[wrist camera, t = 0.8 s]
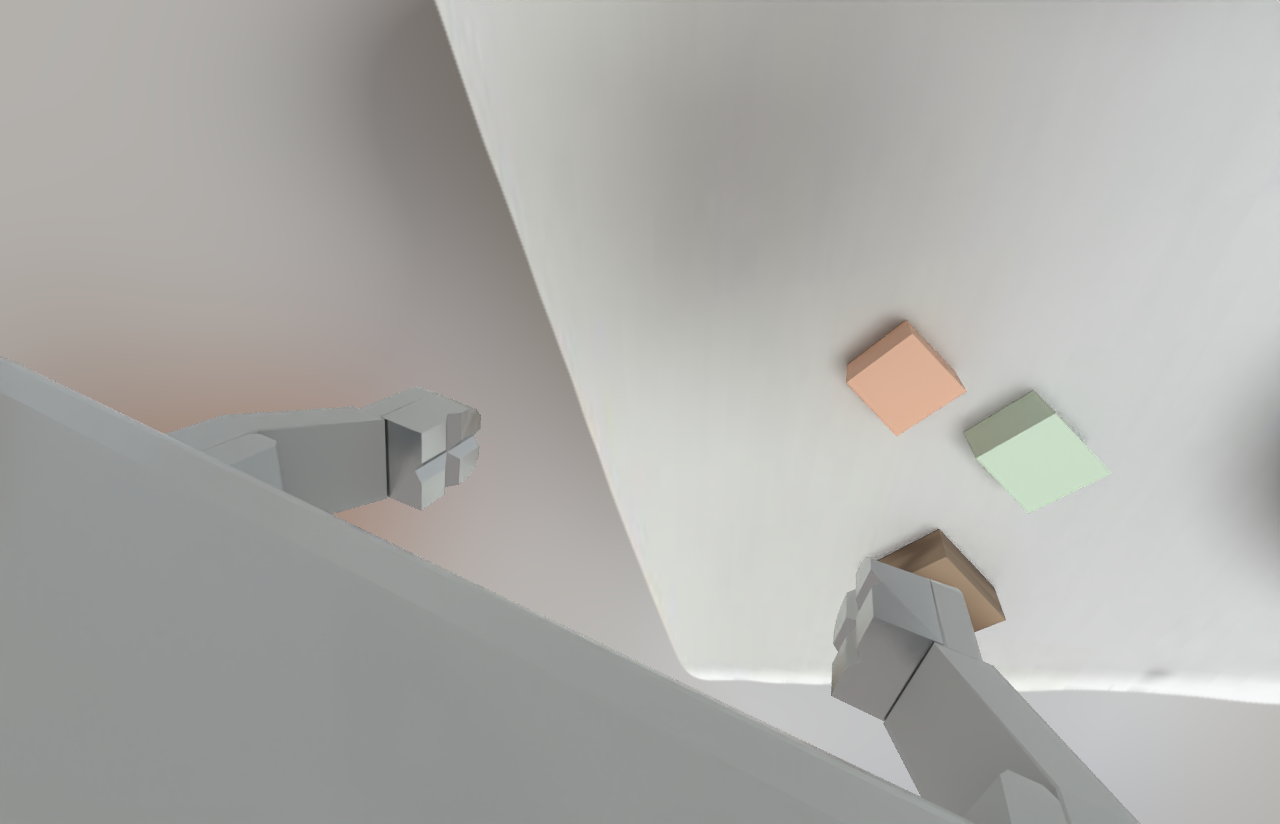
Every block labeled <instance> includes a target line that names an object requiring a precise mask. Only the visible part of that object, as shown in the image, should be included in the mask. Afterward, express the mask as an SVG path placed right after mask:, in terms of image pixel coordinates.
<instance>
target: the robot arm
mask: <svg viewBox="0 0 1280 824" xmlns="http://www.w3.org/2000/svg"><path fill="white" fill-rule="evenodd" d="M480 420H481V415H480V414H479V412H478V411H477V409H475V408H472V407H470V406H468V405H465V404H463V403H460V402H458V401H455V400H453V399H450V398H448V397H445V396H442V395H439V394H438V393H436V392H432V391H430V390H427V389H424V388H420V387H413V388H410V389H408V390H405V391H403V392H400V393H398V394H395V395H393V396H391V397H388V398H385V399H383V400H380V401H378V402H375V403H373V404H370V405H368V406H365V407H363V408H361V409H358V408H355V407H342V408H326V409H312V410H311V409H310V410H296V411H279V412H263V413H248V414H231V415H222V416H218V417H215V418H212V419H209V420H206V421H203V422H200V423H197V424H194V425H191V426H188V427H185V428H182V429H179V430H176V431H173V432H170V433H167V434H164V433H162V432H159V431H157V430H155V429H153V428H151V427H149V426H147V425H145V424H143V423H141V422H139V421H137V420H135V419H132V418H130V417H128V416H126V415H124V414H122V413H120V412H118V411H116V410H114V409H112V408H110V407H107V406H105V405H103V404H101V403H99V402H97V401H95V400H93V399H91V398H89V397H87V396H85V395H83V394H81V393H78V392H76V391H74V390H72V389H70V388H68V387H66V386H64V385H62V384H60V383H58V382H56V381H53V380H51V379H49V378H47V377H45V376H43V375H41V374H39V373H37V372H35V371H33V370H31V369H29V368H28V367H26V366H24V365H21V364H20V363H18V362H15V361H12V360H10V359H7V358H4V357H0V824H1140V823H1139V822H1138V821H1137V820H1136V818H1134V816H1133V815H1132V814H1131V813H1130V812H1129V811H1128V810H1127V809H1126V808H1125V807H1124V806H1123V805H1122V803H1121V802H1120V801H1119V800H1118V799H1117V798H1116V797H1115V796H1114V795H1113V794H1112V793H1111V792H1110V791H1109V790H1108V788H1107V787H1106V786H1105V785H1104V784H1103V783H1102V782H1101V781H1100V780H1099V779H1098V778H1097V777H1096V776H1095V775H1094V773H1093V772H1092V771H1091V770H1090V769H1089V768H1088V767H1087V766H1086V765H1085V764H1084V763H1083V762H1082V761H1081V760H1080V758H1079V757H1078V756H1077V755H1076V754H1075V753H1074V752H1073V751H1072V750H1071V749H1070V748H1069V747H1068V746H1067V745H1066V743H1065V742H1064V741H1063V740H1062V739H1061V738H1060V737H1059V736H1058V735H1057V734H1056V733H1055V732H1054V730H1052V728H1051V727H1050V726H1049V725H1048V724H1047V723H1046V722H1045V721H1044V720H1043V719H1042V718H1041V717H1040V716H1039V714H1038V713H1037V712H1036V711H1035V710H1034V709H1033V708H1032V707H1031V706H1030V705H1029V704H1028V703H1027V702H1026V701H1025V699H1024V698H1023V697H1022V696H1021V695H1020V694H1019V693H1018V692H1017V691H1016V690H1015V689H1014V688H1013V687H1012V685H1011V684H1010V683H1009V682H1008V681H1007V680H1006V679H1005V678H1004V677H1003V676H1002V675H1001V674H1000V673H999V671H998V670H997V669H996V668H995V667H994V666H992V665H990V664H988V663H985V662H983V660H982V657H981V653H980V650H979V647H978V643H977V640H976V637H975V633H974V630H973V626H972V623H971V620H970V616H969V613H968V610H967V606H966V603H965V599H964V596H963V593H962V592H961V591H960V590H959V589H958V588H955V587H952V586H949V585H946V584H943V583H940V582H937V581H934V580H931V579H928V578H925V577H922V576H919V575H916V574H913V573H910V572H908V571H905V570H902V569H899V568H896V567H893V566H890V565H888V564H885V563H882V562H879V561H876V560H873V559H871V558H868V557H866V558H865V559H864V561H863V562H862V563H861V565H860V567H859V569H858V571H857V573H856V589H855V590H853V591H850V592H848V593H847V594H846V596H845V598H844V600H843V603H842V605H841V607H840V610H839V613H838V616H837V619H836V624H835V629H834V640H833V644H834V646H835V647H836V649H837V651H838V653H837V655H836V657H835V659H834V661H833V663H832V687H831V690H832V691H831V696H833V697H835V698H837V699H839V700H841V701H843V702H845V703H847V704H849V705H852V706H854V707H856V708H858V709H860V710H862V711H864V712H866V713H868V714H870V715H872V716H874V717H877V718H879V719H881V720H883V721H885V722H884V726H885V728H886V729H887V731H888V733H889V735H890V737H891V739H892V741H893V743H894V745H895V747H896V749H897V751H898V753H899V754H900V757H901V759H902V760H903V762H904V764H905V766H906V768H907V770H908V772H909V774H910V776H911V778H912V780H913V782H914V784H915V786H916V788H917V790H918V791H919V794H920V795H921V797H920V796H917V795H915V794H913V793H911V792H909V791H907V790H905V789H903V788H901V787H899V786H897V785H895V784H892V783H890V782H888V781H886V780H884V779H882V778H880V777H878V776H875V775H874V774H871V773H870V772H867V771H865V770H863V769H861V768H859V767H857V766H855V765H853V764H851V763H849V762H846V761H844V760H842V759H840V758H838V757H836V756H834V755H832V754H830V753H827V752H825V751H823V750H821V749H819V748H817V747H815V746H813V745H810V744H809V743H807V742H805V741H802V740H800V739H798V738H796V737H794V736H792V735H790V734H788V733H786V732H784V731H781V730H780V729H778V728H775V727H773V726H771V725H769V724H767V723H765V722H763V721H761V720H759V719H756V718H754V717H753V716H751V715H748V714H746V713H744V712H742V711H740V710H738V709H736V708H734V707H732V706H730V705H728V704H726V703H724V702H721V701H719V700H717V699H715V698H713V697H711V696H709V695H707V694H705V693H703V692H701V691H699V690H696V689H694V688H692V687H690V686H688V685H686V684H684V683H682V682H680V681H678V680H675V679H674V678H671V677H669V676H667V675H665V674H663V673H661V672H659V671H657V670H655V669H653V668H651V667H649V666H647V665H645V664H642V663H640V662H638V661H636V660H634V659H632V658H630V657H628V656H626V655H624V654H622V653H620V652H617V651H615V650H613V649H611V648H609V647H607V646H605V645H603V644H601V643H599V642H597V641H594V640H593V639H590V638H588V637H586V636H584V635H582V634H580V633H578V632H576V631H574V630H572V629H570V628H568V627H565V626H563V625H561V624H559V623H557V622H555V621H553V620H551V619H549V618H547V617H545V616H542V615H540V614H538V613H536V612H534V611H532V610H530V609H528V608H526V607H524V606H521V605H519V604H517V603H515V602H513V601H511V600H509V599H507V598H505V597H503V596H501V595H498V594H496V593H494V592H492V591H490V590H488V589H486V588H484V587H482V586H480V585H478V584H476V583H474V582H471V581H469V580H467V579H465V578H463V577H461V576H459V575H457V574H455V573H452V572H451V571H448V570H446V569H444V568H442V567H440V566H438V565H436V564H434V563H432V562H430V561H428V560H426V559H424V558H422V557H419V556H417V555H415V554H413V553H411V552H409V551H407V550H405V549H403V548H401V547H399V546H396V545H395V544H392V543H390V542H388V541H386V540H384V539H382V538H380V537H378V536H376V535H374V534H372V533H370V532H367V531H365V530H363V529H361V528H359V527H357V526H355V525H353V524H351V523H349V522H347V521H344V520H342V519H340V518H338V517H336V516H334V515H332V514H334V513H338V512H341V511H344V510H348V509H352V508H355V507H359V506H362V505H366V504H369V503H373V502H376V501H380V500H383V499H387V496H388V497H390V498H393V499H395V500H397V501H400V502H402V503H404V504H407V505H409V506H412V507H414V508H417V509H419V510H423V509H425V508H426V507H427V506H429V505H430V504H432V503H433V502H435V501H436V500H437V499H439V498H440V497H442V496H443V495H444V494H445V487H448V486H453V485H459V484H460V483H461V482H463V481H464V480H465V479H467V478H468V477H469V475H470V474H471V472H472V471H473V469H474V468H475V466H476V463H477V460H478V457H479V445H478V443H477V441H476V438H475V437H474V435H475V434H476V433H477V431H478V430H480Z"/></svg>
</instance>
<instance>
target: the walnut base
mask: <svg viewBox="0 0 1280 824" xmlns="http://www.w3.org/2000/svg"><path fill="white" fill-rule="evenodd" d="M878 561H879V562H882V563H885V564H888V565H890V566H893V567H896V568H899V569H902V570H905V571H908V572H910V573H913V574H916V575H919V576H922V577H925V578H928V579H931V580H934V581H937V582H940V583H943V584H946V585H949V586H952V587H955V588H958V589H959V590H960V591H961V592H962V593H963V596H964V599H965V603H966V606H967V610H968V613H969V616H970V620H971V623H972V626H973V630H974V632H976V631H979V630H981V629H984V628H987V627H989V626H992V625H994V624H997V623H999V622H1002V621H1005V620H1006V619H1005V616H1004V613H1003V611H1002V608H1001V605H1000V602H999V600H998V597H997V594H996V591H995V589H994V587H993V586H992V585H991V584H990V583H989V582H988V581H987V579H986V578H985V577H984V576H983V575H982V574H981V573H980V572H979V571H978V570H977V569H976V568H975V567H974V566H973V565H972V564H971V562H970V561H969V560H968V559H967V558H966V557H965V556H964V555H963V554H962V553H961V552H960V551H959V550H958V549H957V548H956V547H955V545H954V544H953V543H952V542H951V541H950V540H949V539H948V538H947V537H946V536H945V535H944V534H943V533H942V532H941V531H940V529H938V530H937V531H935V532H933V533H931V534H929V535H927V536H925V537H923V538H921V539H919V540H917V541H915V542H913V543H911V544H909V545H907V546H905V547H903V548H902V549H900V550H898V551H896V552H894V553H892V554H890V555H888V556H886V557H884V558H882V559H880V560H878Z"/></svg>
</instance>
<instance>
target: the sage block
mask: <svg viewBox="0 0 1280 824" xmlns="http://www.w3.org/2000/svg"><path fill="white" fill-rule="evenodd" d="M964 434H965V436H966V438H967V440H968V442H969V444H970V446H971V448H972V451H973V453H974V455H975V457H976V459H977V460H978V461H979V462H980V463H981V464H982V465H983V466H984V467H985V468H986V469H987V470H988V472H989V473H990V474H991V475H992V476H993V477H994V478H995V479H996V480H997V481H998V482H999V483H1000V484H1001V485H1002V486H1003V487H1004V489H1005V490H1006V491H1007V492H1008V493H1009V494H1010V495H1011V496H1012V497H1013V498H1014V499H1015V500H1016V501H1017V502H1018V503H1019V505H1020V506H1021V507H1022V508H1023V509H1024V510H1025V511H1026V512H1027V513H1028V514H1029V513H1031V512H1033V511H1035V510H1037V509H1040V508H1042V507H1044V506H1046V505H1048V504H1050V503H1052V502H1054V501H1056V500H1058V499H1060V498H1062V497H1064V496H1066V495H1068V494H1071V493H1073V492H1075V491H1077V490H1079V489H1081V488H1083V487H1085V486H1087V485H1089V484H1091V483H1093V482H1095V481H1097V480H1100V479H1102V478H1104V477H1106V476H1108V475H1110V474H1112V473H1111V472H1110V471H1109V470H1108V469H1107V467H1106V466H1105V465H1104V464H1103V463H1102V462H1101V461H1100V460H1099V459H1098V458H1097V457H1096V456H1095V455H1094V454H1093V453H1092V451H1091V450H1090V449H1089V448H1088V447H1087V446H1086V445H1085V444H1084V443H1083V442H1082V441H1081V440H1080V439H1079V438H1078V436H1077V435H1076V434H1075V433H1074V432H1073V431H1072V430H1071V429H1070V428H1069V427H1068V426H1067V425H1066V424H1065V423H1064V422H1063V420H1062V419H1061V418H1060V417H1059V416H1058V415H1057V414H1056V413H1055V412H1054V411H1053V410H1052V409H1051V408H1050V407H1049V406H1048V405H1047V404H1046V402H1045V401H1044V400H1043V399H1042V398H1041V397H1040V396H1039V395H1038V394H1037V393H1036V392H1035V391H1034V390H1033V391H1031V392H1030V393H1028V394H1026V395H1025V396H1023V397H1021V398H1020V399H1018V400H1016V401H1015V402H1013V403H1011V404H1010V405H1008V406H1006V407H1005V408H1003V409H1001V410H1000V411H998V412H996V413H995V414H993V415H991V416H990V417H988V418H986V419H985V420H983V421H981V422H980V423H978V424H976V425H975V426H973V427H971V428H970V429H968V430H966V431H965V432H964Z"/></svg>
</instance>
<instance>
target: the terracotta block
mask: <svg viewBox="0 0 1280 824" xmlns="http://www.w3.org/2000/svg"><path fill="white" fill-rule="evenodd" d="M846 383H847V384H848V385H849V386H850V387H851V389H852V390H853V391H854V392H855V393H856V394H857V395H858V396H859V397H860V398H861V399H862V400H863V401H864V402H865V403H866V404H867V406H868V407H869V408H870V409H871V410H872V411H873V412H874V413H875V414H876V415H877V416H878V417H879V418H880V419H881V420H882V421H883V423H884V424H885V425H886V426H887V427H888V428H889V429H890V430H891V431H892V432H893V433H894V434H895V435H896V436H898V435H900V434H901V433H903V432H904V431H906V430H907V429H909V428H910V427H912V426H914V425H915V424H917V423H918V422H920V421H921V420H923V419H924V418H926V417H928V416H929V415H931V414H932V413H934V412H935V411H937V410H938V409H940V408H942V407H943V406H945V405H946V404H948V403H949V402H951V401H952V400H954V399H956V398H957V397H959V396H960V395H962V394H963V393H965V392H966V390H965V388H964V386H963V384H962V383H961V381H960V379H959V378H958V376H957V374H956V373H955V371H954V370H953V369H952V368H951V367H950V366H949V365H948V364H947V363H946V362H945V360H944V359H943V358H942V357H941V356H940V355H939V354H938V353H937V352H936V351H935V350H934V349H933V348H932V347H931V346H930V344H929V343H928V342H927V341H926V340H925V339H924V338H923V337H922V336H921V335H920V334H919V333H918V332H917V331H916V330H915V328H914V327H913V326H912V325H911V324H910V323H909V322H908V321H907V320H905V321H904V322H903V323H901V324H900V325H899V326H898V327H896V328H895V329H894V330H892V331H891V332H890V333H888V334H887V335H886V336H884V337H883V338H882V339H881V340H879V341H878V342H877V343H875V344H874V345H873V346H871V347H870V348H869V349H867V350H866V351H865V352H864V353H862V354H861V355H860V356H858V357H857V358H856V359H854V360H853V361H852V362H850V363H849V364H848V365H847V376H846Z"/></svg>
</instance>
